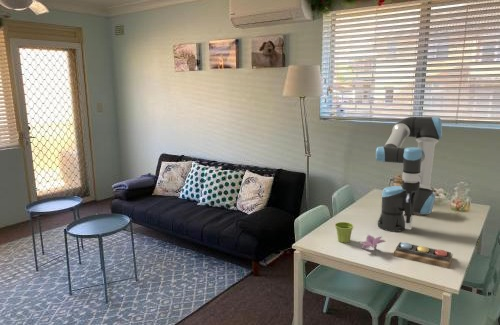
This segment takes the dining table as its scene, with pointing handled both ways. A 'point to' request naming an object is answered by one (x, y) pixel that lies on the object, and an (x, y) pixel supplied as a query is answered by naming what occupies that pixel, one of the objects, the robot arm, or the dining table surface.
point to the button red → (441, 253)
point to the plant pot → (344, 231)
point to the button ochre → (423, 249)
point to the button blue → (406, 246)
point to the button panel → (423, 256)
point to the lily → (372, 242)
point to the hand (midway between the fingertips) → (408, 228)
